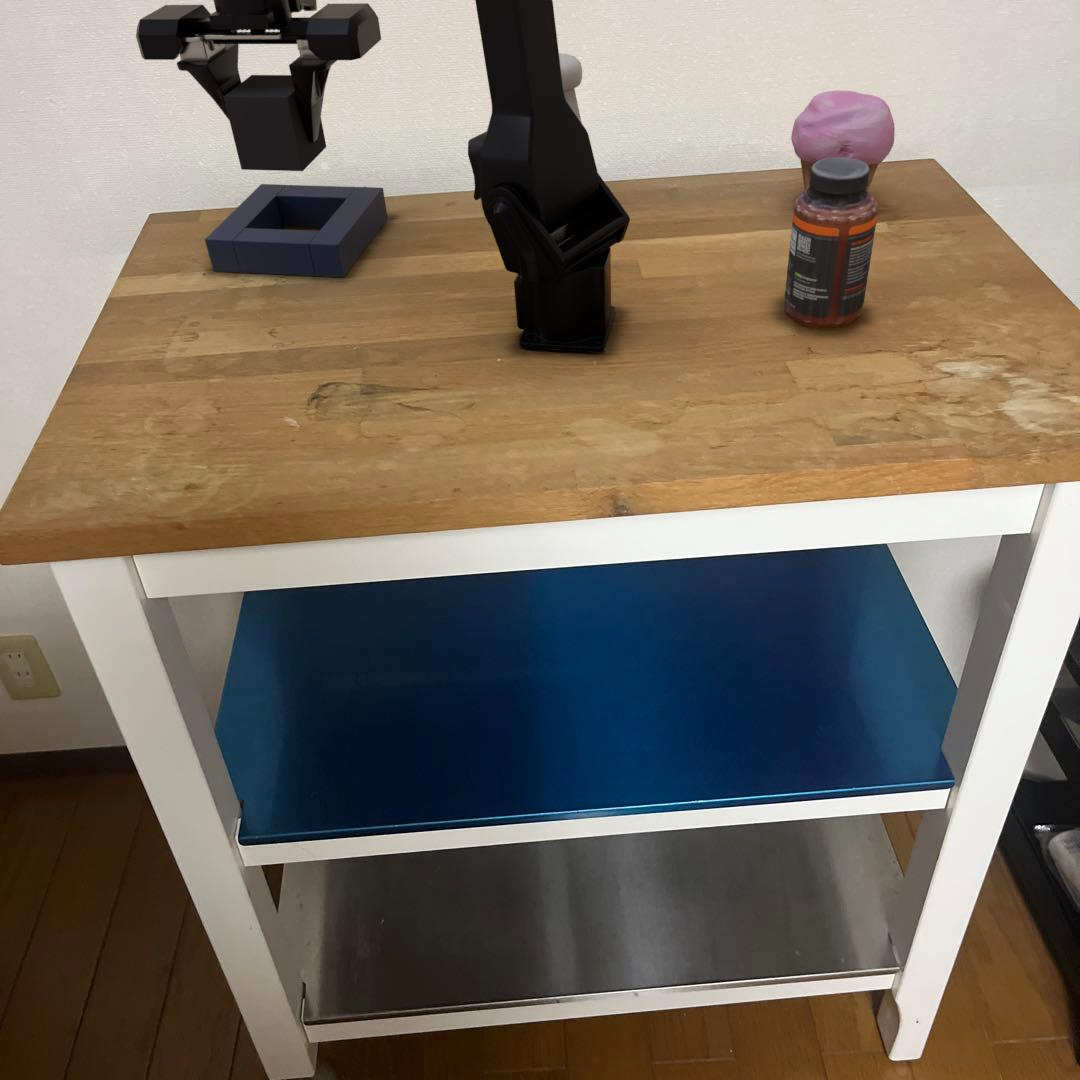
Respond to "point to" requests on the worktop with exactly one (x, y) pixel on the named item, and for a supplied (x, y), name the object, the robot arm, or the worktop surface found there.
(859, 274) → the supplement bottle
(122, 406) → the worktop surface
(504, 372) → the worktop surface
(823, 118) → the cupcake
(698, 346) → the worktop surface
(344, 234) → the base
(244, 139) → the black cube
